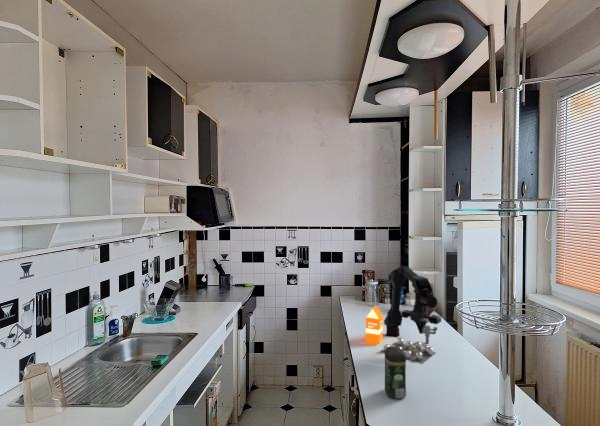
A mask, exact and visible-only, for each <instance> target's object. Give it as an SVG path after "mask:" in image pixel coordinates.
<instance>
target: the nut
mask: <svg viewBox="0 0 600 426" xmlns="http://www.w3.org/2000/svg"><path fill="white" fill-rule="evenodd" d="M415 347H416V346H412V347H409V351H411V355H416V352H418V348H415Z"/></svg>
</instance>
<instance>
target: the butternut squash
mask: <svg viewBox="0 0 600 426" xmlns="http://www.w3.org/2000/svg"><path fill="white" fill-rule="evenodd" d="M428 281H429V283H430V285H431V287H432V291H433V293H432V294H434V293H435V292H434V284H433V282H432V280H430V279H428ZM425 290H428V289H425ZM436 307H437V305H436V306H435V307H434V308H429V307H427V313H428V315H427V316H431V314H432V313H434V311H435V310H436Z"/></svg>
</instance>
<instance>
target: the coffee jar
mask: <svg viewBox="0 0 600 426" xmlns="http://www.w3.org/2000/svg"><path fill="white" fill-rule="evenodd" d="M406 365H407V360H406V355H405V353H404V352H403V351H402V350H401V349H400V348H398V347H388V348H386V349H385V353H384V391H385V394H386V395H387V397H389V398H391V399H395V400H396V399H397V400H401V399H404V398H406V396H407V387H406V386H407V385H406V379H407V377H406V376H407V375H406V370H407V368H406Z"/></svg>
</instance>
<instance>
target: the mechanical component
mask: <svg viewBox="0 0 600 426" xmlns="http://www.w3.org/2000/svg"><path fill="white" fill-rule="evenodd" d="M437 331H438V327H436V326H433V328H431V326H430V325H425V327H424V330H423V332H422V334H421V335H423V334H424V337H425V345H428V344H430V343H429V341H430V338H429V337H430V336H431V335H436V332H437Z"/></svg>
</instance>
